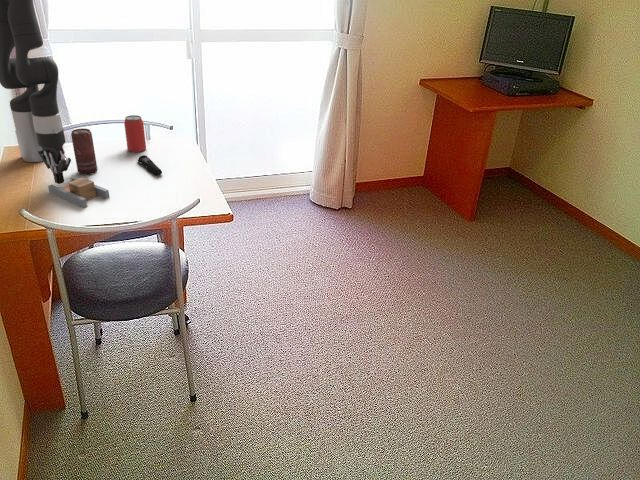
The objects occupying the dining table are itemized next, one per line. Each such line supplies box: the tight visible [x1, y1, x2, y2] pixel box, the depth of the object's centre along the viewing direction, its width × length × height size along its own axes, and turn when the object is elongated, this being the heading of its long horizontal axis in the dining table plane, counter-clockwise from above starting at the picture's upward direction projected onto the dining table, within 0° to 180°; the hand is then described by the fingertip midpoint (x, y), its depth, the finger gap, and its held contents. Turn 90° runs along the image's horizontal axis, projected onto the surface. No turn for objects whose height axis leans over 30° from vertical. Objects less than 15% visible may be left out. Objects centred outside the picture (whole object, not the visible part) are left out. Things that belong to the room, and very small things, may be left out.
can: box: [70, 128, 98, 176], centre depth 176 cm, size 6×6×14 cm
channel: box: [47, 176, 110, 209], centre depth 163 cm, size 16×9×2 cm, turn 58°
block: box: [68, 177, 97, 202], centre depth 162 cm, size 5×5×5 cm
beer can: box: [123, 114, 147, 153], centre depth 196 cm, size 7×7×12 cm
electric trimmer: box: [137, 155, 163, 176], centre depth 184 cm, size 4×16×3 cm, turn 36°
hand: (59, 182), depth 167 cm, fingers closed
